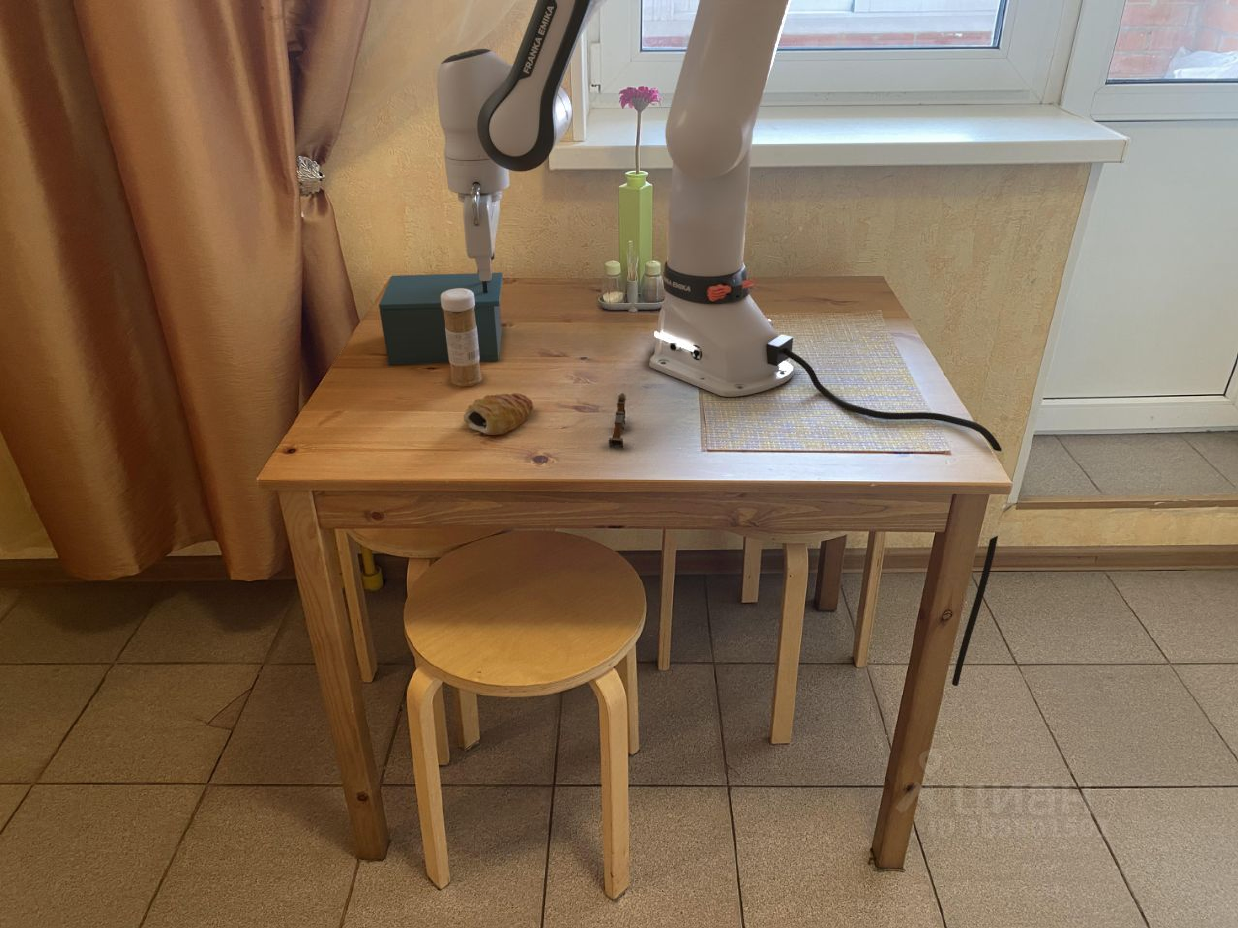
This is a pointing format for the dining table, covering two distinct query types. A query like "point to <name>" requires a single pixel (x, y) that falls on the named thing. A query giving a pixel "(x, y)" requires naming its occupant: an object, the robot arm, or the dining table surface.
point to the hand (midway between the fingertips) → (487, 269)
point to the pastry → (498, 413)
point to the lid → (438, 290)
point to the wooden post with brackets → (618, 424)
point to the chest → (435, 335)
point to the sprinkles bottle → (461, 336)
